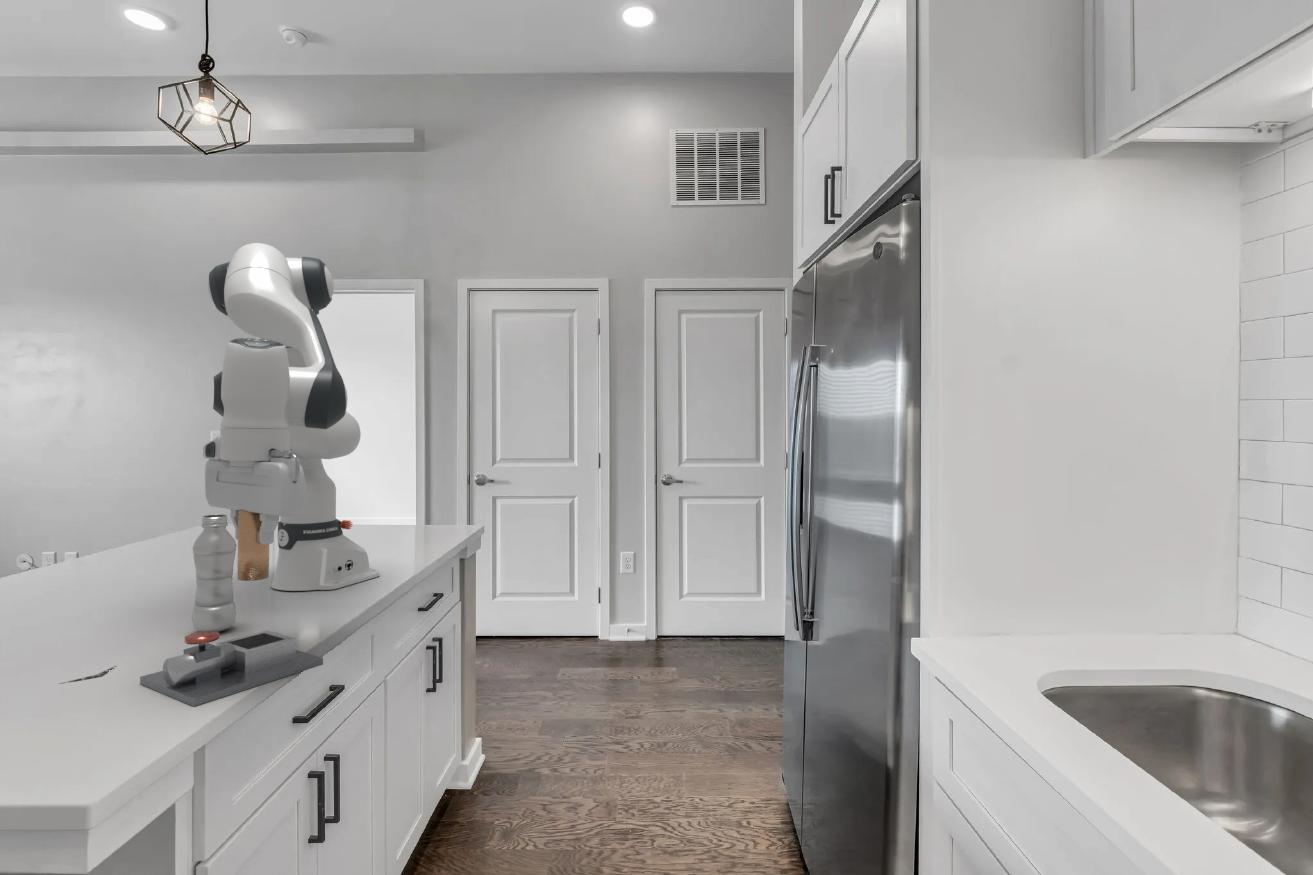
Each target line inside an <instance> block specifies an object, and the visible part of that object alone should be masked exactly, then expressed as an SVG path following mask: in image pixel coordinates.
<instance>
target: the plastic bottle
mask: <svg viewBox="0 0 1313 875" xmlns="http://www.w3.org/2000/svg"><path fill="white" fill-rule="evenodd" d="M201 521H202V522H201V528H203V530H202V532H200V534H199V535H198V536H197V538H196V539H195V541H194V543H193V545H192V554H193V561H194V566H195V579H196V590H195V591H196V592H195V600H194V606H193V610H192V616H191V622H192V626H193V628H194V629H195V631H197V632H203V631H217V632H219V633H220V632H222V631H225V630H228V629H231V628H232V627H233V626H234V624H235V622H236V618H237V609H236V602H235V600H234V589H233V588H234V587H233V575H234V564H235V560H236V559H235V557H236V550H237V544H236V539H235V537H233V536H232V534H231V533H230V532H229V531H228V530H227V527H228V526H229V524H228V515H227V514H222V513H221V514H219V513H218V514H207V515H203V516H202V520H201Z"/></svg>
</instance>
